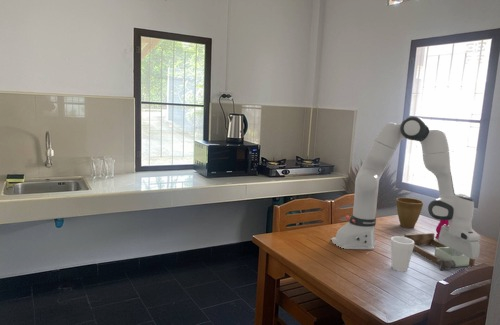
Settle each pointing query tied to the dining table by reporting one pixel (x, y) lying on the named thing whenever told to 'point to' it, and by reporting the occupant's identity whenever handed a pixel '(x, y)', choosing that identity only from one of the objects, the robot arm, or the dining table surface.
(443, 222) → the pepper mill
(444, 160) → the robot arm
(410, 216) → the plant pot
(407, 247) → the foam cup
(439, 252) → the crate
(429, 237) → the bay
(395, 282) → the dining table surface
